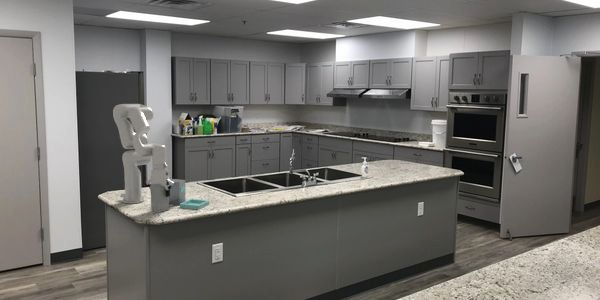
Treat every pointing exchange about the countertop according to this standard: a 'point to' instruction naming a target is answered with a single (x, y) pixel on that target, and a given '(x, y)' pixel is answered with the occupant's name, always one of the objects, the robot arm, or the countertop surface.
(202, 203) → the tray
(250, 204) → the countertop surface
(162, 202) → the skincare box
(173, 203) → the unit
